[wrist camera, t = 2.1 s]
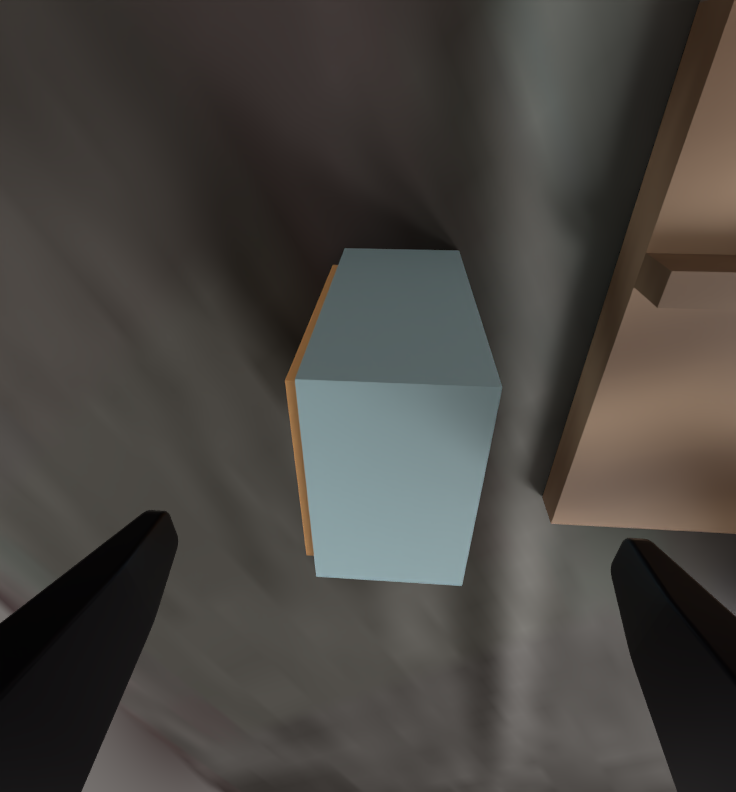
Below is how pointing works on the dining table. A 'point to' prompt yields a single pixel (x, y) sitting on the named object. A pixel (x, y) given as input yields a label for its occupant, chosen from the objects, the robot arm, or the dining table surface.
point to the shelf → (667, 325)
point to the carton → (392, 417)
